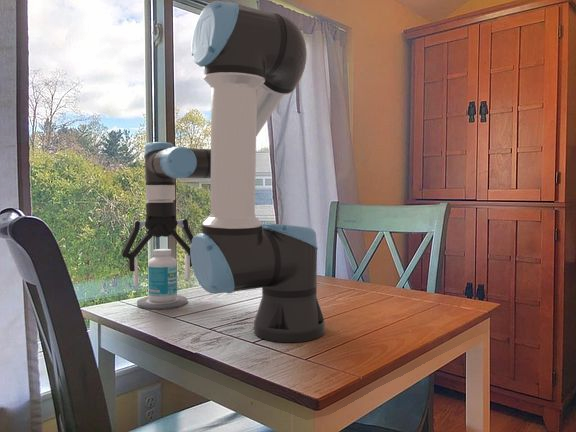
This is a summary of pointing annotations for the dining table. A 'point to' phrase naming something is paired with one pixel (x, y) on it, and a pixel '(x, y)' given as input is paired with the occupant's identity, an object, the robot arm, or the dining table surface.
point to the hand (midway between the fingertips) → (162, 281)
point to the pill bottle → (162, 276)
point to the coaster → (161, 303)
